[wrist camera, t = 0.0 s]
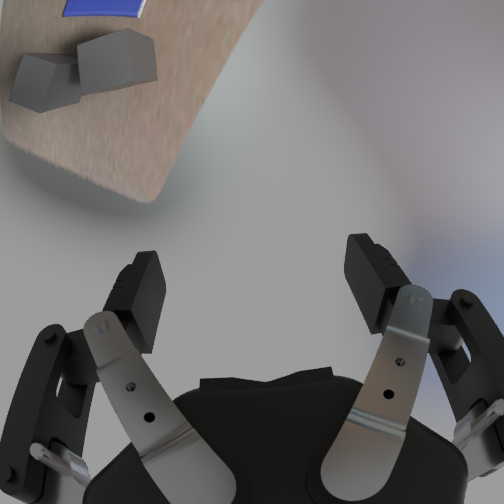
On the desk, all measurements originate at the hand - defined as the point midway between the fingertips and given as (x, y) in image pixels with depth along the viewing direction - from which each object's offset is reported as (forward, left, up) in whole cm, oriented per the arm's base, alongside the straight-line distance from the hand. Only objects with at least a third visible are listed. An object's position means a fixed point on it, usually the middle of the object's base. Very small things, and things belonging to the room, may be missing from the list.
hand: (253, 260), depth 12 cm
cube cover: (-13, -23, -29) cm, 40 cm away
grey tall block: (-12, -13, -29) cm, 34 cm away
